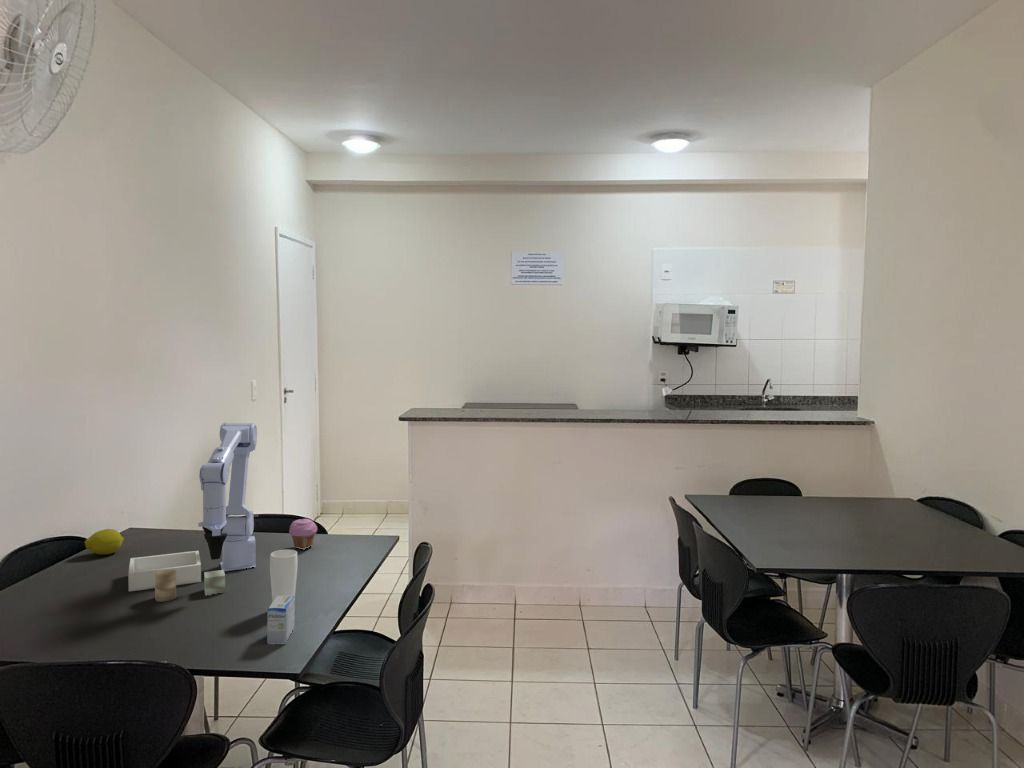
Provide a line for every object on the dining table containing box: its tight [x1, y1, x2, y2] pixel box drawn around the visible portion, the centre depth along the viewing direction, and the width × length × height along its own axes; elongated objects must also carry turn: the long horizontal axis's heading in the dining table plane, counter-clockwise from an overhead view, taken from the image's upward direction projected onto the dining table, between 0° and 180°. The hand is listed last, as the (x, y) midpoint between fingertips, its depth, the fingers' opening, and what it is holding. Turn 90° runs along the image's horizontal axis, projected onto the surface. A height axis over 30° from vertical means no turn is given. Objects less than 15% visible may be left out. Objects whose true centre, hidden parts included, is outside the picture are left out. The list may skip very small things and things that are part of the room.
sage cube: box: [203, 569, 226, 597], centre depth 183 cm, size 5×5×5 cm
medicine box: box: [266, 595, 296, 644], centre depth 156 cm, size 8×4×9 cm, turn 5°
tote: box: [127, 550, 202, 592], centre depth 192 cm, size 18×14×5 cm
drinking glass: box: [269, 549, 299, 602], centre depth 171 cm, size 7×7×15 cm
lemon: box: [84, 528, 125, 556], centre depth 211 cm, size 11×8×8 cm
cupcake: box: [288, 518, 318, 548], centre depth 222 cm, size 9×9×10 cm
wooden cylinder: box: [154, 569, 177, 603], centre depth 178 cm, size 5×5×7 cm
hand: (214, 554), depth 183 cm, fingers open, 7 cm apart
